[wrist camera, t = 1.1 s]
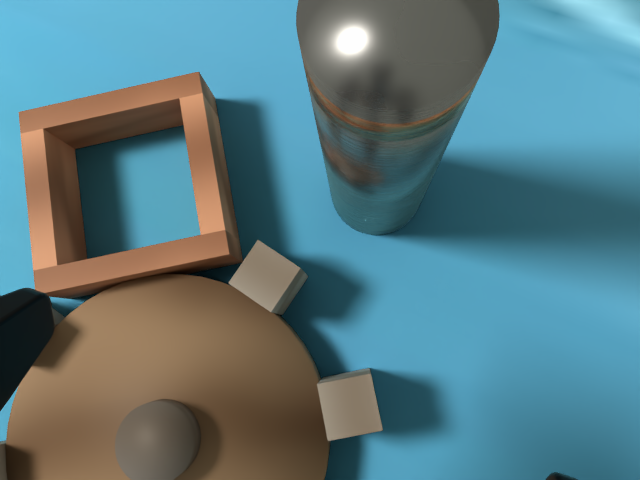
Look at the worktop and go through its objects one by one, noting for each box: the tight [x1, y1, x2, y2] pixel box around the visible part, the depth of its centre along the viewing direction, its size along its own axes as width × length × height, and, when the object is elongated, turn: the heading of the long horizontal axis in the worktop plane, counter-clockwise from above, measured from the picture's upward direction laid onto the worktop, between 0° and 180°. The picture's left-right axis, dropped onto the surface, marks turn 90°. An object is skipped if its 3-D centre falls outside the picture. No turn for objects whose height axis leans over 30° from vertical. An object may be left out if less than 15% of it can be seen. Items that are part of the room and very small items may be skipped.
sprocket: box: [0, 72, 383, 480], centre depth 21 cm, size 23×17×3 cm
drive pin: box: [296, 0, 499, 235], centre depth 17 cm, size 4×4×13 cm
